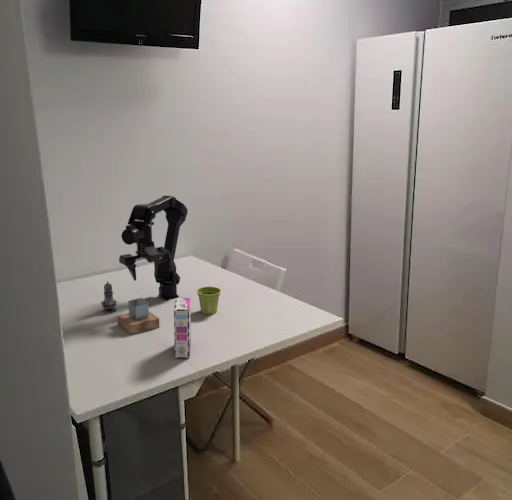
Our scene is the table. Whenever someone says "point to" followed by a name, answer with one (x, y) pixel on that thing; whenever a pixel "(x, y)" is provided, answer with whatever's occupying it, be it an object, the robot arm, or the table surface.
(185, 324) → the candy bar box
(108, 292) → the dark grey tall piece
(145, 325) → the walnut block
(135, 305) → the slate tin
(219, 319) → the table surface
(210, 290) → the plant pot
